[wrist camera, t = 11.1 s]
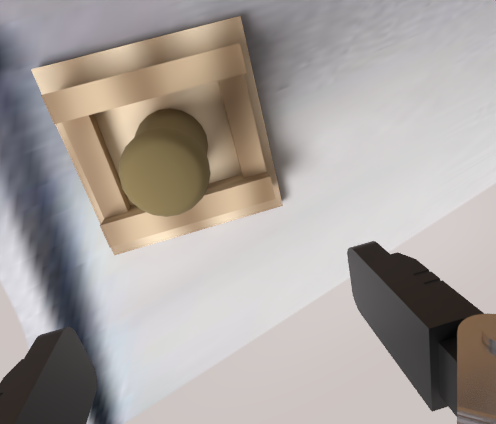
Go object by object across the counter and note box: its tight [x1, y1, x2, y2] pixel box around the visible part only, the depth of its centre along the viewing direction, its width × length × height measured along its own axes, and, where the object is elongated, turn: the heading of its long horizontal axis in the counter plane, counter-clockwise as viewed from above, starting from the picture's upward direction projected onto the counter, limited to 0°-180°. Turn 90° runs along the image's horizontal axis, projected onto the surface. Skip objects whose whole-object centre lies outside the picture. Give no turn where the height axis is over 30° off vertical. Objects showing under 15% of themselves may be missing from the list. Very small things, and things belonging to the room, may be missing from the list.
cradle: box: [31, 16, 283, 255], centre depth 28 cm, size 16×16×4 cm
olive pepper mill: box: [119, 108, 211, 217], centre depth 24 cm, size 6×6×11 cm
